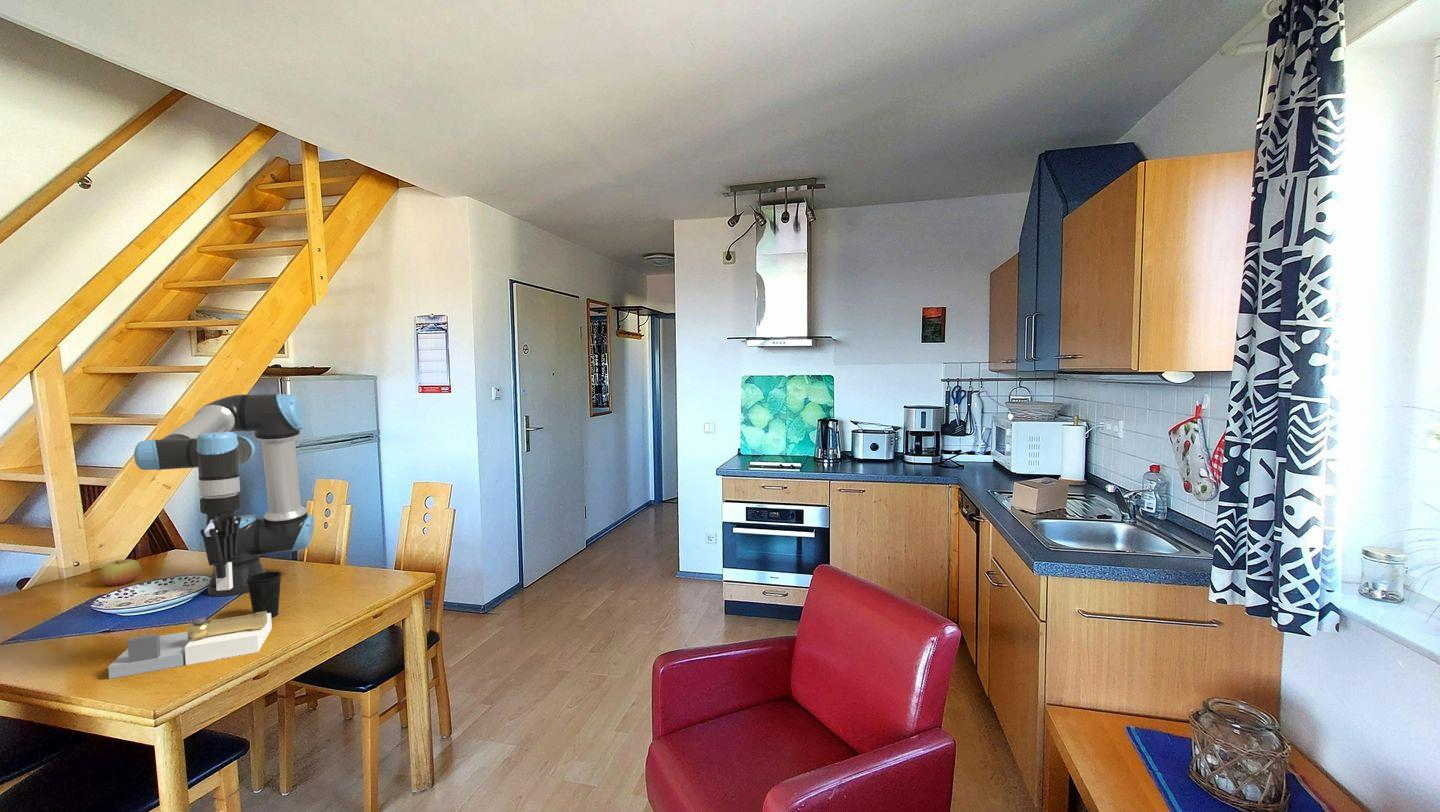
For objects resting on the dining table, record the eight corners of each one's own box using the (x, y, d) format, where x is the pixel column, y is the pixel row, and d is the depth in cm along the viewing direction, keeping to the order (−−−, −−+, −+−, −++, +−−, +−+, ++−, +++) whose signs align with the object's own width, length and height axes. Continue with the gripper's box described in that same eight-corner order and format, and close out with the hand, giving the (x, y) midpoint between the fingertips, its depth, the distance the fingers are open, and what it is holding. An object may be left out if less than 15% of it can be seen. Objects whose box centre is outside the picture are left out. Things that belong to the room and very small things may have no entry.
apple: (97, 584, 190) (95, 561, 190) (138, 575, 198) (136, 553, 198) (103, 591, 185) (101, 566, 184) (145, 581, 193) (143, 558, 192)
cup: (264, 623, 162) (261, 581, 161) (242, 620, 163) (240, 579, 162) (289, 611, 169) (287, 572, 168) (268, 609, 171) (266, 570, 170)
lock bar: (191, 633, 144) (190, 622, 144) (267, 621, 151) (266, 610, 151) (184, 641, 140) (184, 629, 140) (263, 628, 148) (262, 616, 147)
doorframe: (137, 650, 146) (135, 616, 145) (271, 628, 158) (270, 596, 158) (109, 679, 132) (106, 641, 132) (258, 652, 145) (256, 617, 144)
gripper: (217, 490, 145) (221, 581, 147) (184, 501, 133) (190, 600, 134) (251, 489, 147) (256, 578, 149) (223, 499, 135) (228, 597, 136)
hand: (224, 589), depth 141 cm, fingers closed
